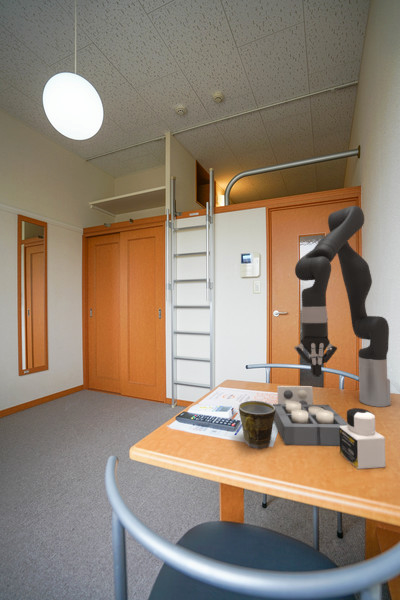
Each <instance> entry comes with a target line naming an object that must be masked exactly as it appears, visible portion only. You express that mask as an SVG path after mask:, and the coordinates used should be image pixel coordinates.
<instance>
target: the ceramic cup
mask: <svg viewBox="0 0 400 600" xmlns="http://www.w3.org/2000/svg"><path fill="white" fill-rule="evenodd" d="M238 411H239V417H240V421H241V427H242V431H243V432H242V433H243V438H244V442H245V444H246V445H247V446H248V447H249V448H252V449H255V450H261V449H267V448H268V446H270V444H271V439H272V431H273V428H274V427H273V425H274V423H275V422H274V417H275V407H274V406H273V403H272V404H271V403H269V402H267V401H261V400H249V401H248V400H247V401H243V402H241V403H240V404H239V405H238Z"/></svg>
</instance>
